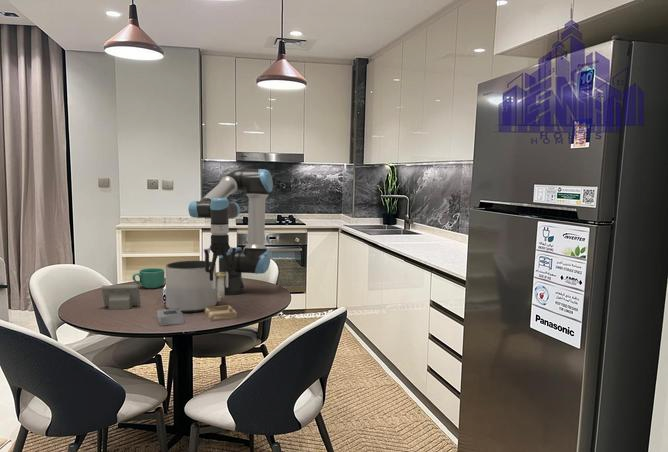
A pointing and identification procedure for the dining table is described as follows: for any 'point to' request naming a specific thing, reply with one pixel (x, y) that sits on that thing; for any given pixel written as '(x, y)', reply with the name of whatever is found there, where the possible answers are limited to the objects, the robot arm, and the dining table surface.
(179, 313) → the block
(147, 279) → the mug
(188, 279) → the planter
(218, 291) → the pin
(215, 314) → the tray
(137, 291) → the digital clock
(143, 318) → the dining table surface
